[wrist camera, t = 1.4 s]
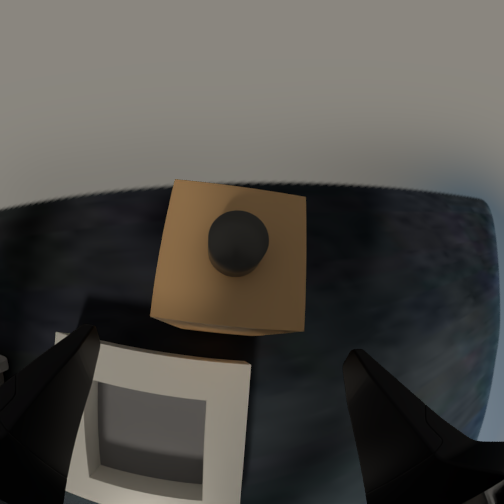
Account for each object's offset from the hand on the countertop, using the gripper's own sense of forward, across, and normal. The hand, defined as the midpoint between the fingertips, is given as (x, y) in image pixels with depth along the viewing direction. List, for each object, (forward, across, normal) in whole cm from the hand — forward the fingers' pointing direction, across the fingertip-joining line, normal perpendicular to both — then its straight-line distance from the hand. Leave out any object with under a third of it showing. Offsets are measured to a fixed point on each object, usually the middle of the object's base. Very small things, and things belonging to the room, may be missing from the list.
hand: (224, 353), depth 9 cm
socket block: (+2, +4, +13) cm, 14 cm away
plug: (+10, 0, +5) cm, 11 cm away
